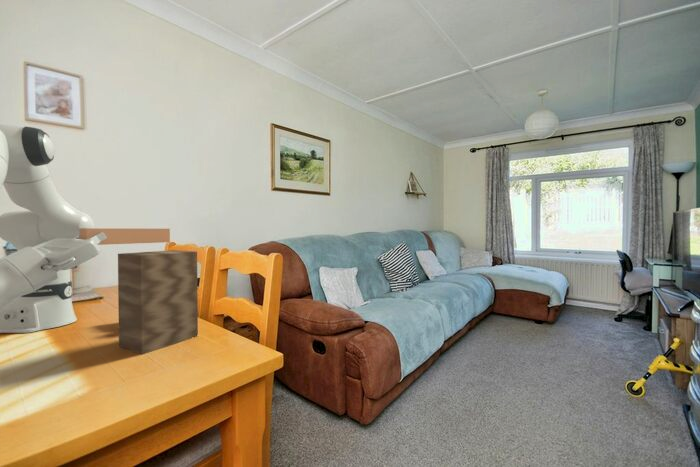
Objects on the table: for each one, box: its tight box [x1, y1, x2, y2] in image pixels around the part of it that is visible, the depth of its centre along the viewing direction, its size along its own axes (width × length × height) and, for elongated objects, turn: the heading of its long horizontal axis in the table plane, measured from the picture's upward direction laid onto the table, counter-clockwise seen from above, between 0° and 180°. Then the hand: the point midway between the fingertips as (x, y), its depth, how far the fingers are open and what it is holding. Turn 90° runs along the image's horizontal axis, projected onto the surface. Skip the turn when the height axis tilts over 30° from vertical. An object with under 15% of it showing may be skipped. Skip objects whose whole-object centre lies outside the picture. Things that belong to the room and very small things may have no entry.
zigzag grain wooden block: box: [117, 249, 199, 355], centre depth 92 cm, size 16×12×26 cm
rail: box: [79, 228, 171, 246], centre depth 85 cm, size 20×4×4 cm, turn 150°
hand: (98, 234), depth 79 cm, fingers closed on rail, 4 cm apart
